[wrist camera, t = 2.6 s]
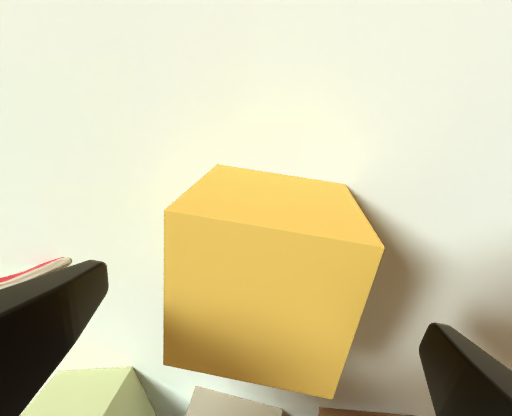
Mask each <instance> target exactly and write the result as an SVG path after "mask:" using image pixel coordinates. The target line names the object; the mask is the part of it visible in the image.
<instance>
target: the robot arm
mask: <svg viewBox="0 0 512 416" xmlns="http://www.w3.org/2000/svg"><path fill="white" fill-rule="evenodd" d="M107 291H108V274H107V265H106V264H105V263H104V262H101V261H96V260H88V261H85V262H82V263H79V264H76V265H73V266H70V267H67V268H64V269H61V270H58V271H54V272H51V273H48V274H45V275H42V276H39V277H36V278H33V279H30V280H27V281H24V282H21V283H18V284H15V285H12V286H9V287H6V288H3V289H0V416H19V415H20V414H21V413H22V411H23V410H24V409H25V408H26V406H27V405H28V404H29V402H30V401H31V400H32V399H33V397H34V396H35V395H36V393H37V392H38V391H39V389H40V388H41V387H42V386H43V384H44V383H45V382H46V380H47V379H48V378H49V376H50V375H51V374H52V373H53V371H54V370H55V369H56V367H57V366H58V365H59V364H60V362H61V361H62V360H63V358H64V357H65V356H66V354H67V353H68V352H69V350H70V349H71V348H72V346H73V345H74V344H75V342H76V341H77V339H78V338H79V336H80V335H81V333H82V332H83V330H84V329H85V327H86V325H87V324H88V322H89V321H90V319H91V318H92V316H93V314H94V313H95V311H96V310H97V308H98V306H99V305H100V303H101V302H102V300H103V299H104V297H105V295H106V294H107ZM419 354H420V358H421V362H422V366H423V370H424V373H425V377H426V381H427V384H428V388H429V392H430V396H431V399H432V403H433V407H434V410H435V413H436V416H512V371H511V370H509V369H508V368H507V367H505V366H504V365H502V364H501V363H500V362H498V361H497V360H496V359H494V358H493V357H492V356H490V355H489V354H487V353H486V352H485V351H483V350H482V349H481V348H479V347H478V346H477V345H475V344H474V343H473V342H471V341H470V340H468V339H467V338H466V337H464V336H463V335H462V334H460V333H459V332H458V331H456V330H455V329H454V328H452V327H451V326H449V325H445V324H440V323H431V324H430V325H429V326H428V328H427V330H426V332H425V334H424V337H423V339H422V341H421V343H420V346H419Z"/></svg>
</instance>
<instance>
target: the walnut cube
mask: <svg viewBox="0 0 512 416" xmlns="http://www.w3.org/2000/svg"><path fill="white" fill-rule="evenodd" d="M319 416H413V415H401V414H390V413H378V412H367V411H355V410H344V409H332V408H321V407H319Z"/></svg>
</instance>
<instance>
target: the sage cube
mask: <svg viewBox="0 0 512 416" xmlns="http://www.w3.org/2000/svg"><path fill="white" fill-rule="evenodd" d="M20 416H157V415H156V413H155V411H154V409H153V407H152V405H151V403H150V401H149V399H148V397H147V395H146V393H145V391H144V389H143V387H142V385H141V383H140V381H139V379H138V377H137V375H136V373H135V371H134V369H133V367H132V366H131V367H115V368H99V369H83V370H67V371H58V372H57V374H56V375H55V376H54V377H53V378H52V379H51V380H50V382H49V383H48V384H47V385H46V386H45V387H44V389H43V390H42V391H41V392H40V393H39V394H38V396H37V397H36V398H35V399H34V400H33V401H32V402H31V404H30V405H29V406H28V407H27V408H26V409H25V411H24V412H23V413H22V414H21V415H20Z"/></svg>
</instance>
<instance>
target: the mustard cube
mask: <svg viewBox="0 0 512 416" xmlns="http://www.w3.org/2000/svg"><path fill="white" fill-rule="evenodd" d="M384 249H385V247H384V245H383V244H382V242H381V241H380V239H379V237H378V236H377V234H376V233H375V231H374V230H373V228H372V226H371V225H370V223H369V222H368V220H367V218H366V217H365V215H364V214H363V212H362V210H361V209H360V207H359V206H358V204H357V202H356V201H355V199H354V198H353V196H352V194H351V193H350V191H349V190H348V188H347V186H346V185H345V184H340V183H333V182H327V181H321V180H314V179H308V178H301V177H295V176H288V175H282V174H276V173H269V172H263V171H256V170H250V169H244V168H237V167H231V166H224V165H218V164H217V165H216V166H215V167H214V168H213V169H211V170H210V171H209V172H208V173H207V174H206V175H204V176H203V177H202V178H201V179H200V180H199V181H198V182H196V183H195V184H194V185H193V186H192V187H191V188H189V189H188V190H187V191H186V192H185V193H184V194H182V195H181V196H180V197H179V198H178V199H177V200H176V201H174V202H173V203H172V204H171V205H170V206H169V207H167V208H166V209H165V210H164V355H163V365H167V366H172V367H176V368H181V369H186V370H191V371H196V372H201V373H206V374H210V375H215V376H220V377H225V378H230V379H235V380H240V381H245V382H249V383H254V384H259V385H264V386H269V387H274V388H279V389H283V390H288V391H293V392H298V393H303V394H308V395H313V396H317V397H322V398H327V399H333V397H334V394H335V391H336V388H337V385H338V382H339V379H340V376H341V373H342V370H343V368H344V365H345V362H346V359H347V356H348V353H349V350H350V347H351V344H352V341H353V339H354V336H355V333H356V330H357V327H358V324H359V321H360V318H361V315H362V312H363V309H364V307H365V304H366V301H367V298H368V295H369V292H370V289H371V286H372V283H373V280H374V278H375V275H376V272H377V269H378V266H379V263H380V260H381V257H382V254H383V251H384Z"/></svg>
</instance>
